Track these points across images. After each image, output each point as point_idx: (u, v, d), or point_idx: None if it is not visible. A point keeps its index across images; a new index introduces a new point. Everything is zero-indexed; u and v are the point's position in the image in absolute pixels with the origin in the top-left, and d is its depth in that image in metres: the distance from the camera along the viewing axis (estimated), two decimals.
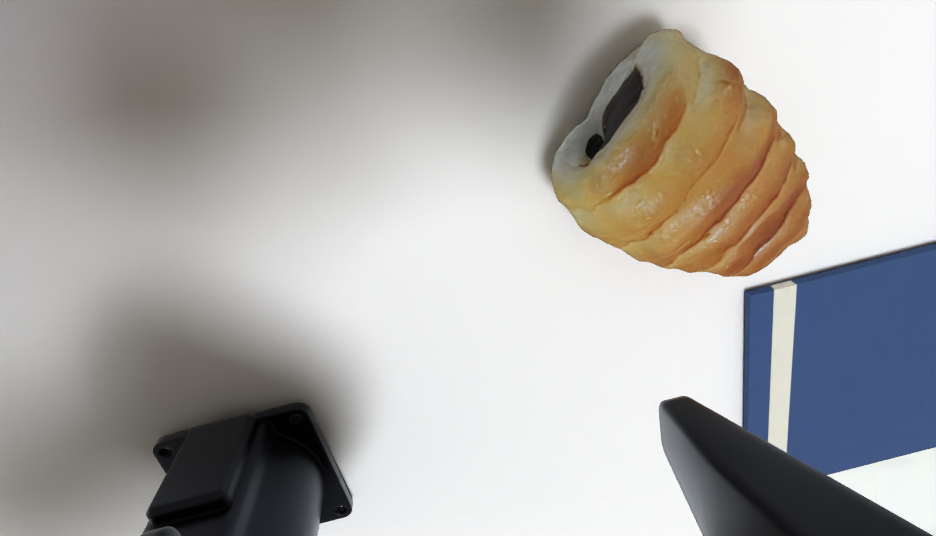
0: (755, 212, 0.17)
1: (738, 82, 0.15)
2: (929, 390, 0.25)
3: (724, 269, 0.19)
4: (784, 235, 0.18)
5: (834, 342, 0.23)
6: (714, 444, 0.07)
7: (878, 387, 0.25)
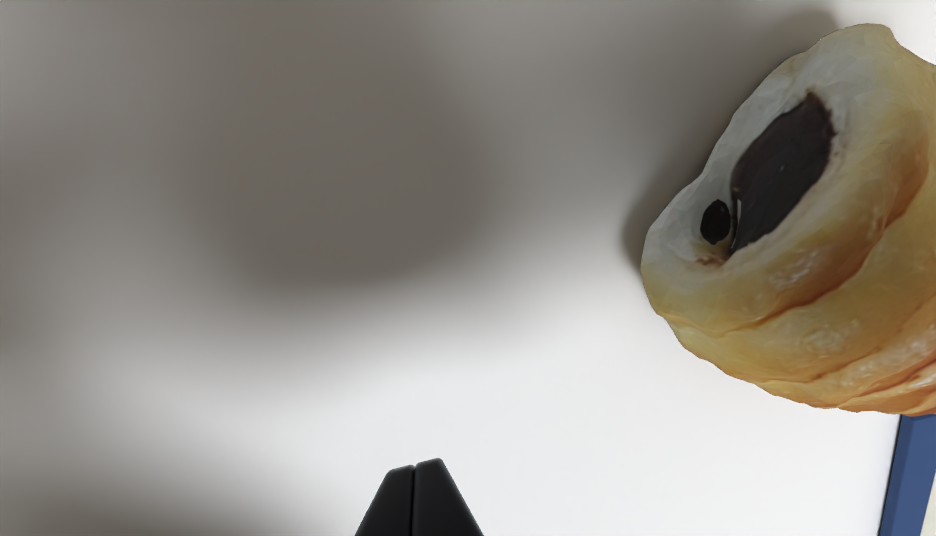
0: None
1: None
2: None
3: (914, 412, 0.12)
4: None
5: None
6: (425, 517, 0.07)
7: None
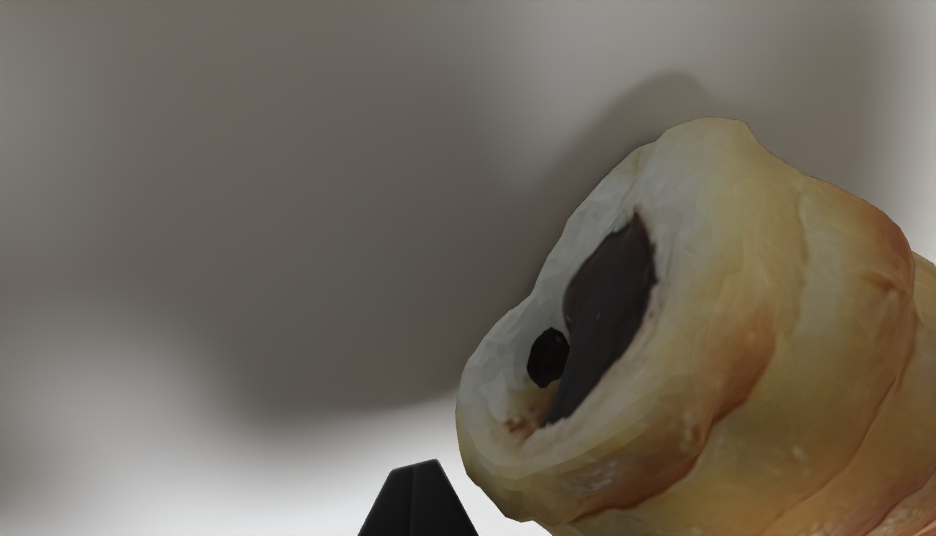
0: (910, 529, 0.07)
1: (910, 274, 0.06)
2: None
3: None
4: None
5: None
6: (421, 518, 0.07)
7: None
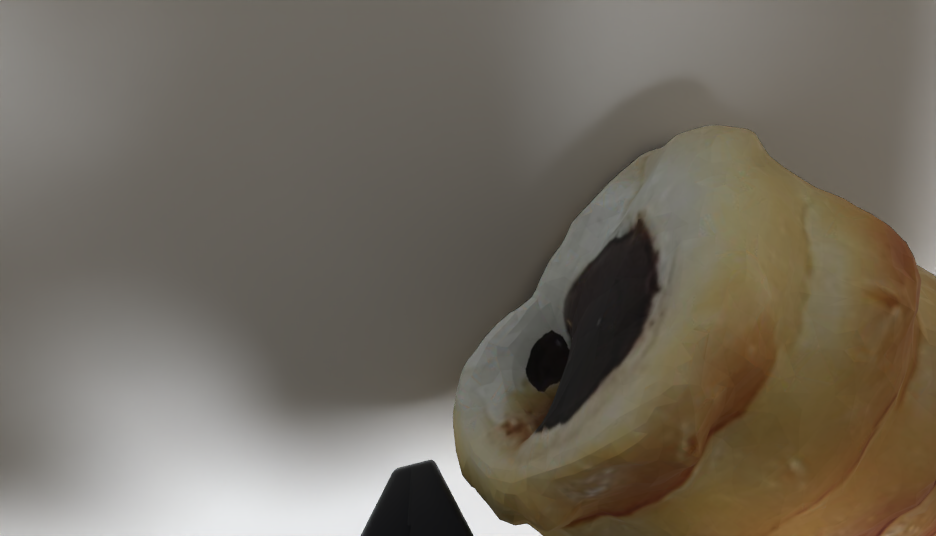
0: None
1: (915, 290, 0.06)
2: None
3: None
4: None
5: None
6: (417, 519, 0.07)
7: None
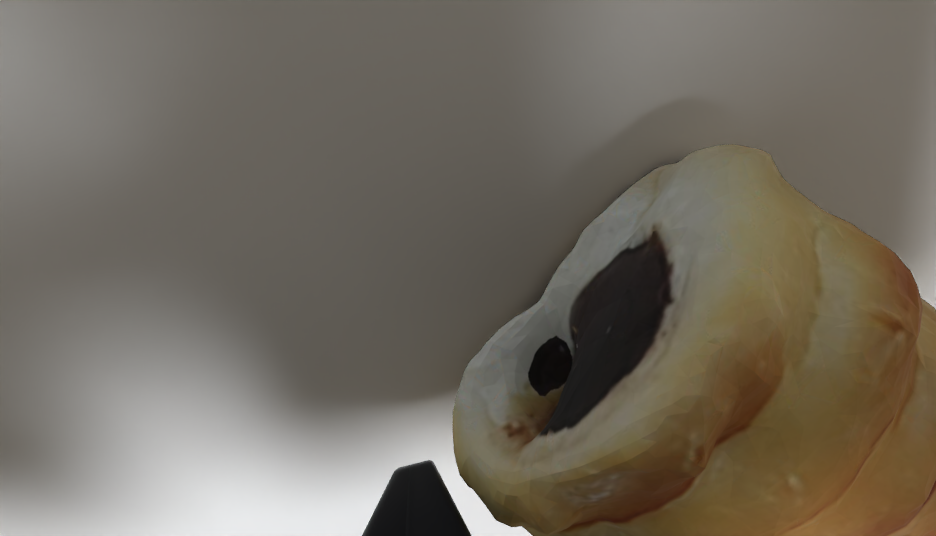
0: None
1: (918, 317, 0.06)
2: None
3: None
4: None
5: None
6: (415, 519, 0.07)
7: None
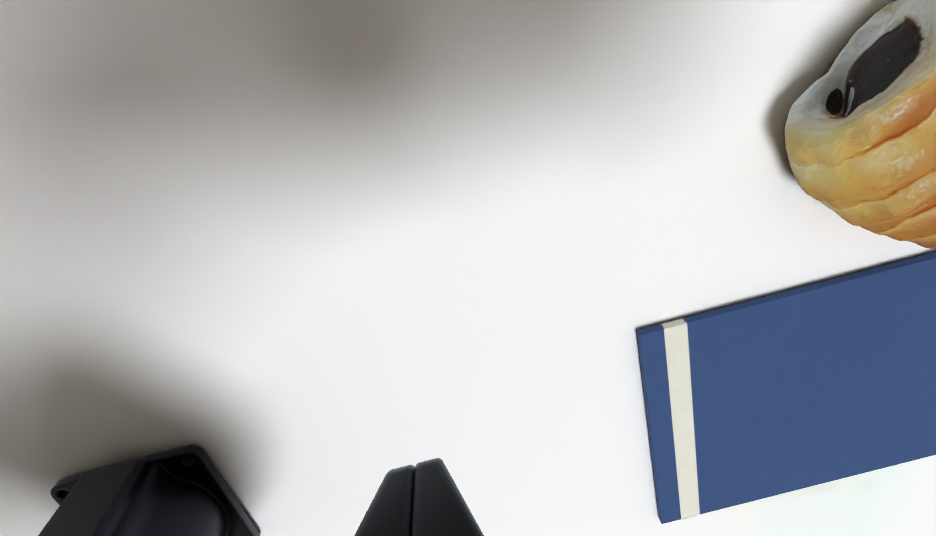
0: None
1: None
2: (840, 421, 0.25)
3: None
4: None
5: (734, 378, 0.23)
6: (425, 517, 0.07)
7: (786, 420, 0.24)
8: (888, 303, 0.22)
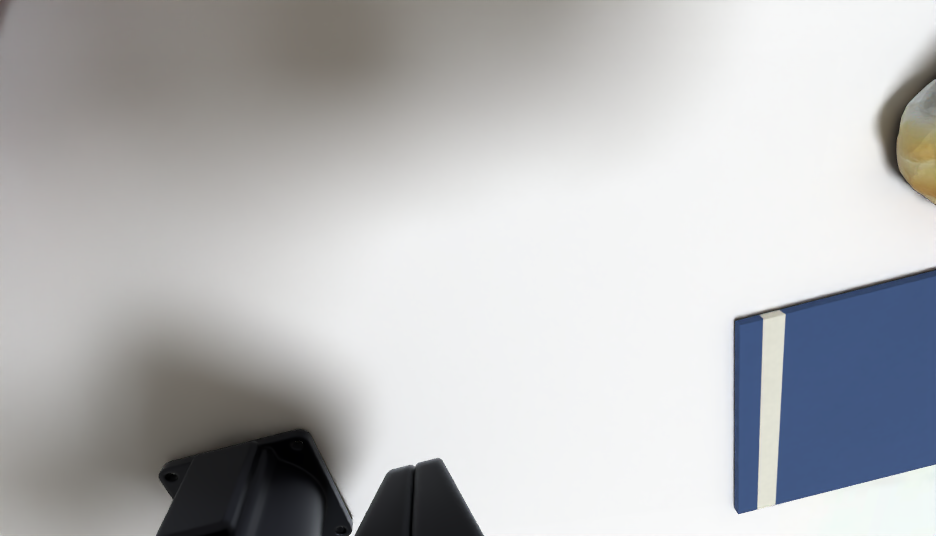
0: None
1: None
2: (917, 413, 0.26)
3: None
4: None
5: (823, 369, 0.24)
6: (426, 517, 0.07)
7: (867, 411, 0.25)
8: None
